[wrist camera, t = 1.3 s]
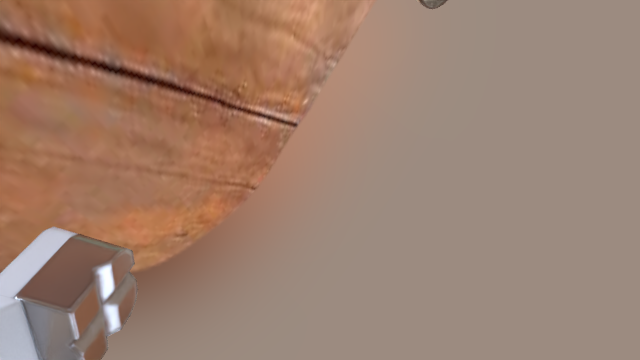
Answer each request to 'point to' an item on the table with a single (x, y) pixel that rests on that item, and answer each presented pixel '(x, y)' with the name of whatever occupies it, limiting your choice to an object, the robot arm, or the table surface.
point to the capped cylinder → (432, 3)
